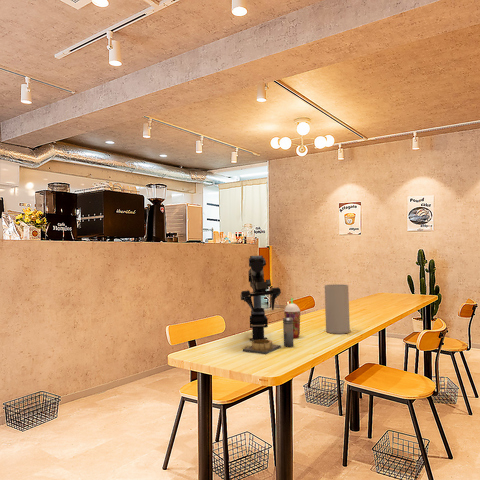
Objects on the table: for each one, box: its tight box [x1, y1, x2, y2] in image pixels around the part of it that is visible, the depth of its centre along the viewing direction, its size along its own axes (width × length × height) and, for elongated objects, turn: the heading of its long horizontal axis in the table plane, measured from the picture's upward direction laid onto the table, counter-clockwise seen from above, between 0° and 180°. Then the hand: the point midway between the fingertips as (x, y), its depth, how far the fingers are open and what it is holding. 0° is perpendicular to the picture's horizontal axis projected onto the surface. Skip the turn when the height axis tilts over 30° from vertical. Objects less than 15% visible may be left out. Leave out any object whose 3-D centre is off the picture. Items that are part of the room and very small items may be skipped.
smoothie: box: [283, 297, 301, 339], centre depth 210 cm, size 8×8×20 cm
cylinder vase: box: [324, 284, 351, 335], centre depth 220 cm, size 12×12×25 cm
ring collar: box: [242, 339, 282, 355], centre depth 186 cm, size 14×12×4 cm
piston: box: [282, 317, 294, 348], centre depth 191 cm, size 5×5×13 cm
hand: (263, 311), depth 190 cm, fingers open, 9 cm apart
